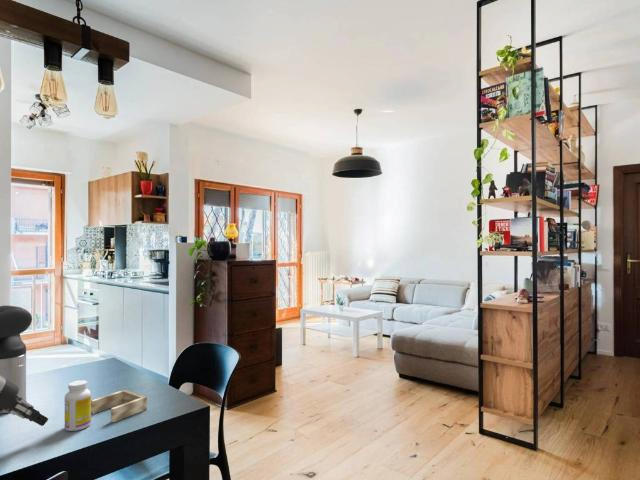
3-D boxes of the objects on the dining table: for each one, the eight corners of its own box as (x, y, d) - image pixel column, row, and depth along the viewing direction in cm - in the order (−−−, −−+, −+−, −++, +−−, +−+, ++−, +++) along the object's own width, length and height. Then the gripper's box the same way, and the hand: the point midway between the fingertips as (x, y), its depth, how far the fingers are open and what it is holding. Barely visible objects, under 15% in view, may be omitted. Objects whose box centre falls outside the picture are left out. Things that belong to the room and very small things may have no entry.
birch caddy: (113, 422, 121) (113, 409, 121) (90, 413, 128) (90, 400, 128) (146, 409, 130) (146, 397, 130) (124, 401, 137) (124, 389, 137)
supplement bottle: (95, 421, 122) (95, 378, 122) (83, 431, 115) (83, 386, 115) (72, 421, 122) (72, 379, 122) (59, 432, 115) (59, 387, 115)
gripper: (-34, 399, 102) (22, 429, 112) (-13, 411, 95) (45, 442, 105) (-8, 372, 106) (44, 403, 117) (14, 382, 99) (67, 414, 109)
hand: (44, 422), depth 111 cm, fingers closed
